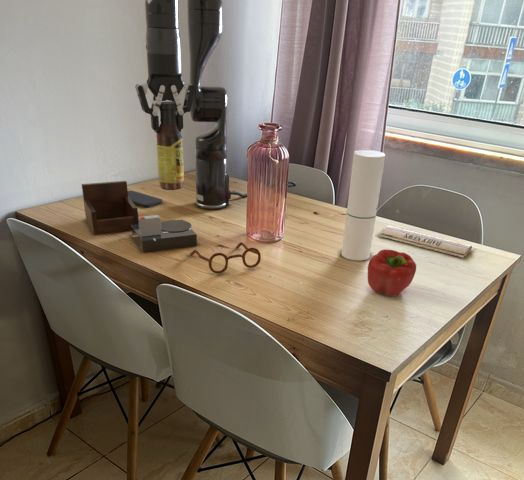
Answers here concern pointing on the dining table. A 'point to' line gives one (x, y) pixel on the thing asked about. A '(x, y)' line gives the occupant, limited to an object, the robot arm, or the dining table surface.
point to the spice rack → (109, 207)
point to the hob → (164, 239)
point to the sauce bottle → (169, 149)
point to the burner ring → (175, 225)
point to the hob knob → (149, 225)
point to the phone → (143, 199)
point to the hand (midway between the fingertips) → (167, 131)
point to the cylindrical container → (362, 204)
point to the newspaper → (426, 241)
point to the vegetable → (390, 272)
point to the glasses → (230, 257)
